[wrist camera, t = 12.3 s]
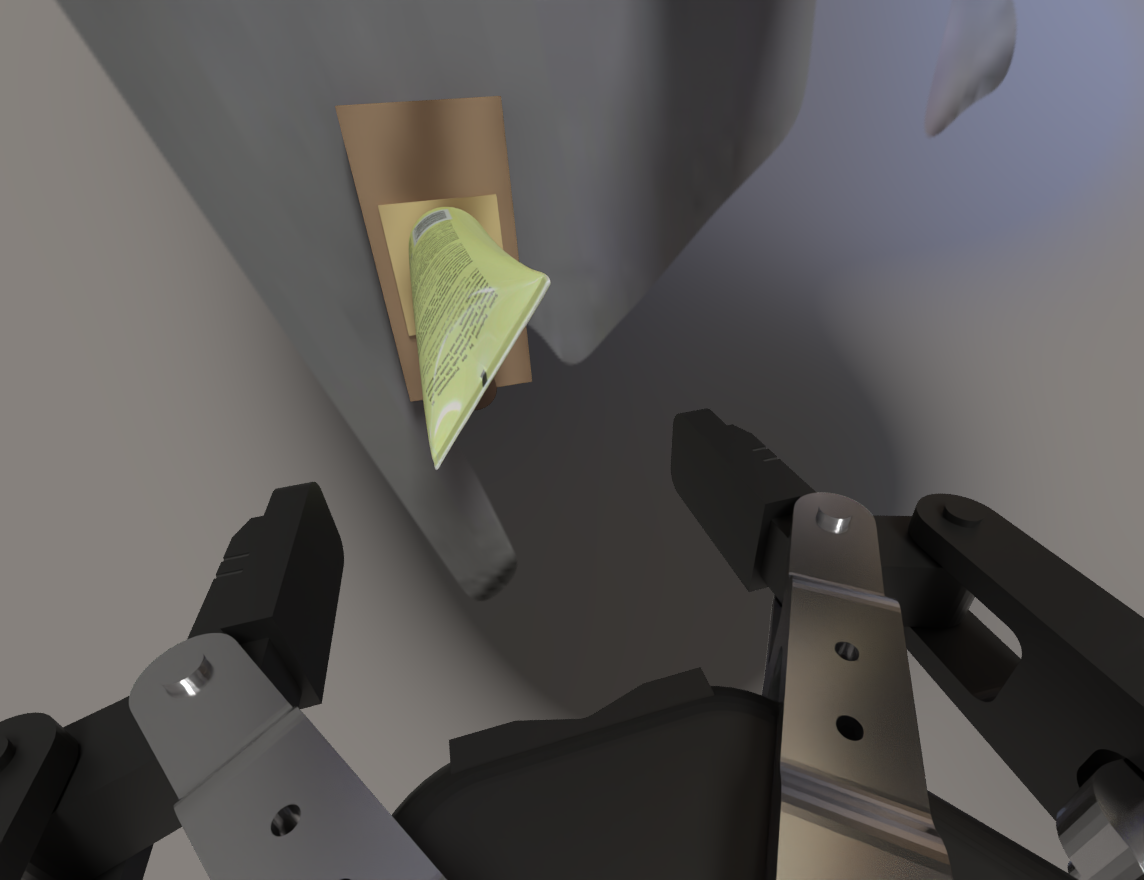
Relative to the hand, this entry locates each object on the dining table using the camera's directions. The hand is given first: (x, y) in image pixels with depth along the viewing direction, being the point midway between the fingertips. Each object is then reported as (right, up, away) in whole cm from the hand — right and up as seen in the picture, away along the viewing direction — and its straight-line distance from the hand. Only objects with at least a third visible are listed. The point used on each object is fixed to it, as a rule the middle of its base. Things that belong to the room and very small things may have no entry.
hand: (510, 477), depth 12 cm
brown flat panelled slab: (-7, +14, +24) cm, 29 cm away
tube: (-7, +13, +21) cm, 25 cm away
